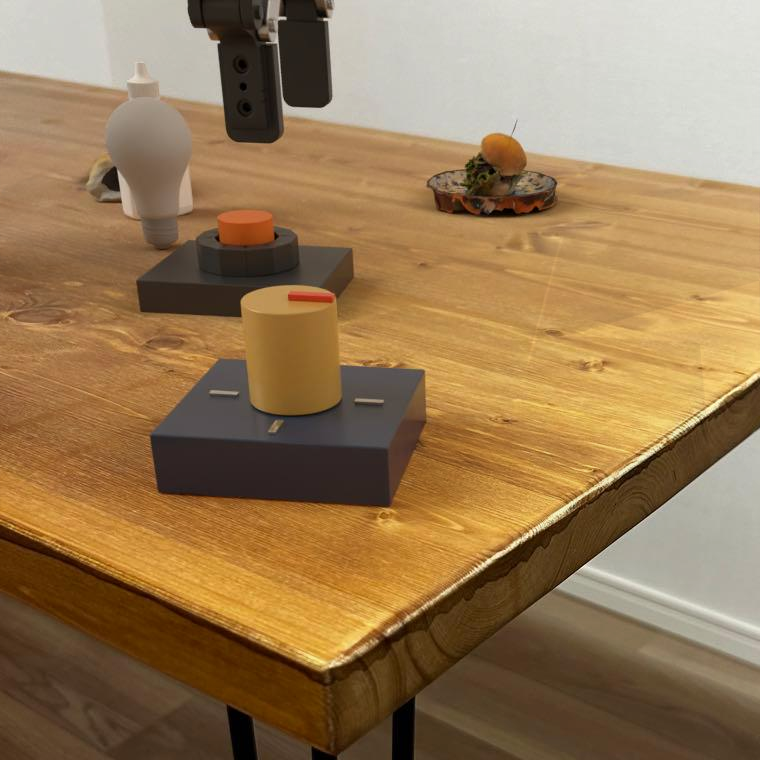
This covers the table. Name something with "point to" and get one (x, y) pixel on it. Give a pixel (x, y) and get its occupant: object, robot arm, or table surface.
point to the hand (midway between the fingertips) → (284, 122)
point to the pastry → (104, 180)
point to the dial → (292, 349)
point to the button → (245, 227)
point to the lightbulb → (151, 162)
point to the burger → (494, 180)
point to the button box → (238, 273)
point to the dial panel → (292, 440)
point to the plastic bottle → (136, 88)
